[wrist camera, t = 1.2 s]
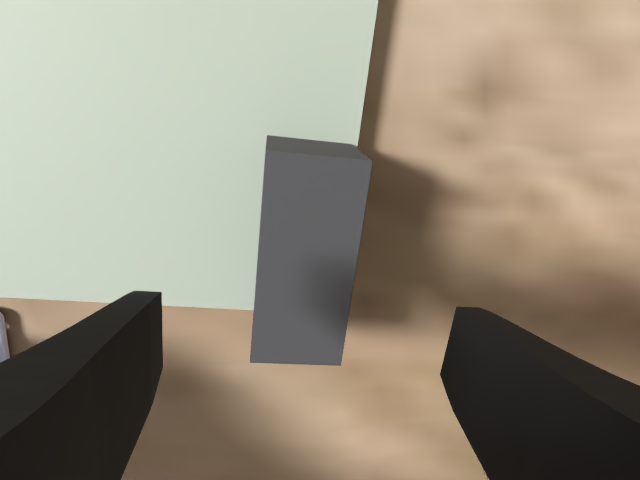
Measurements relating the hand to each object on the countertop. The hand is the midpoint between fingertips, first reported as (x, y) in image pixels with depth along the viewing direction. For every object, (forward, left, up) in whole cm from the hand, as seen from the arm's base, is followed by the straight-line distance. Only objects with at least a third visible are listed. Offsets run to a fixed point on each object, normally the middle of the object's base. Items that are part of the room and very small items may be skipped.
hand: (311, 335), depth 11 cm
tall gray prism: (0, 0, -9) cm, 9 cm away
